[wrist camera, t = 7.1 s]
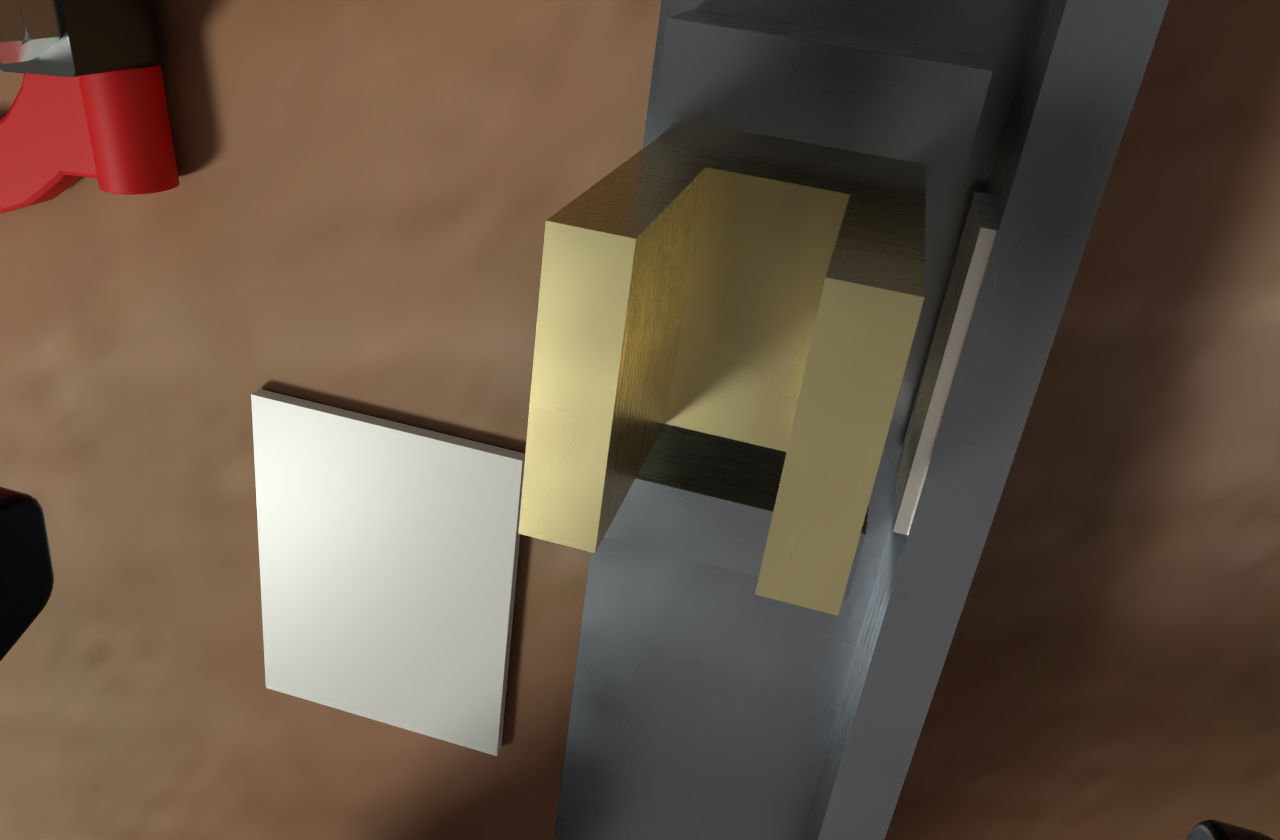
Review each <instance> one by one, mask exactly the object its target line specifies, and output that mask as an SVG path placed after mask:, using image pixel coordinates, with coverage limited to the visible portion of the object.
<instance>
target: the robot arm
mask: <svg viewBox="0 0 1280 840" xmlns="http://www.w3.org/2000/svg"><path fill="white" fill-rule="evenodd" d="M53 583H54V573H53V567H52V561H51V555H50V549H49V543H48V537H47V530H46V524H45V518H44V513H43V510H42V507H41V506H40V504H39V503H38V501H37V500H36V499H35V498H33V497H31V496H30V495H28V494H25V493H21V492H17V491H14V490H10V489H6V488H3V487H0V661H1V660H2V659H3V657H4V656H5V655H6V654H7V653H8V651H9V650H10V649H11V648H12V646H13V645H14V644H15V643H16V642H17V640H18V639H19V638H20V637H21V635H22V634H23V633H24V632H25V631H26V629H27V628H28V627H29V626H30V624H31V623H32V622H33V621H34V620H35V618H36V617H37V616H38V615H39V613H40V612H41V611H42V610H43V608H44V607H45V605H46V604H47V602H48V600H49V598H50V595H51V592H52V589H53ZM1186 840H1273V839H1272V838H1270V837H1269V836H1267V835H1264V834H1262V833H1259V832H1256V831H1252V830H1249V829H1245V828H1241V827H1238V826H1234V825H1230V824H1227V823H1223V822H1219V821H1216V820H1205V821H1202V822H1200V823H1199V824H1197V825H1196V826H1195V827H1194V828H1193V830H1192V831H1191V832H1190V834H1189V836H1188V837H1187V839H1186Z"/></svg>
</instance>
